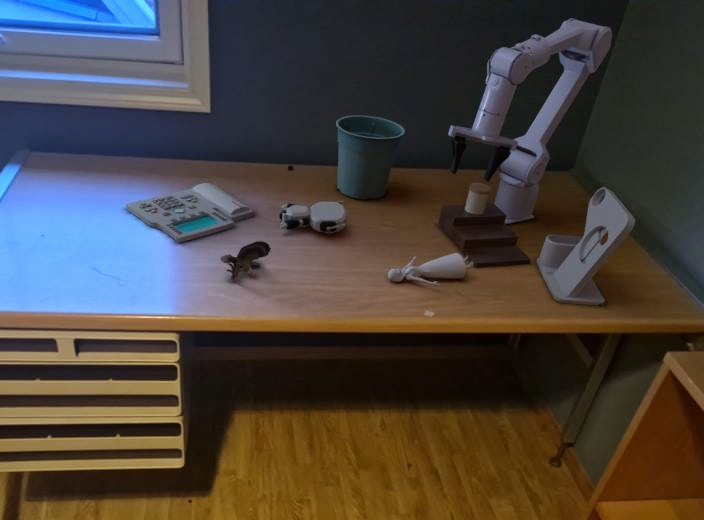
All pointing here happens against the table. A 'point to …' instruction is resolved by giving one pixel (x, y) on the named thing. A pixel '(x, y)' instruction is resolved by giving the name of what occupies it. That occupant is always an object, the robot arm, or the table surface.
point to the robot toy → (314, 216)
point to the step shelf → (482, 235)
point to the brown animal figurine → (246, 258)
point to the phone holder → (585, 251)
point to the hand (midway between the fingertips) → (469, 176)
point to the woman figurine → (433, 269)
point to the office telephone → (191, 212)
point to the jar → (477, 198)
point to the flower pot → (366, 154)
